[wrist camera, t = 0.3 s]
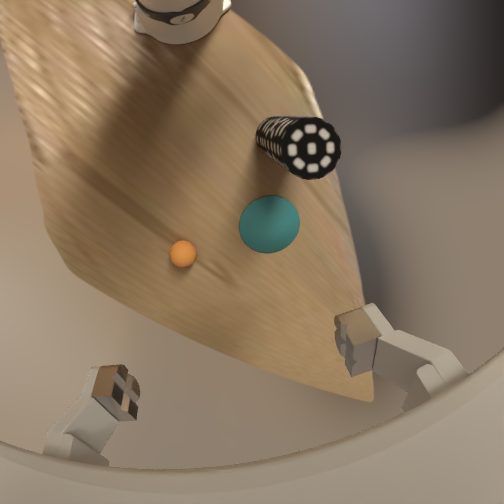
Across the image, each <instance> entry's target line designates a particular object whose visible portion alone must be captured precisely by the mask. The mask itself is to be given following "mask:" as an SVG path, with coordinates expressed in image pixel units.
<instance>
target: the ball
mask: <svg viewBox="0 0 504 504" xmlns="http://www.w3.org/2000/svg"><path fill="white" fill-rule="evenodd" d="M195 257H196V251H195V248H194V246H193V245H192V244H191V243H190V242H188V241H184V240H182V241H178V242H176V243H174V244H173V245H172V247H171V249H170V259H171V261H172V262H173V263H174V264H175V265H176V266H179V267H187V266H189V265H191V264H192V263H193V262H194V260H195Z"/></svg>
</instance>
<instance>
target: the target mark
mask: <svg viewBox="0 0 504 504" xmlns="http://www.w3.org/2000/svg"><path fill="white" fill-rule="evenodd" d="M299 225H300V220H299V215H298V212H297V210H296V208H295V207H294V206H293V205H292V204H291V203H290V202H289V201H288V200H286V199H284V198H281V197H278V196H265V197H262V198H259V199H257V200H255V201H253V202H252V203H251V204H249V205H248V206H247V207H246V209H245V210H244V212H243V214H242V216H241V219H240V224H239V229H240V234H241V237H242V239H243V241H244V242H245V243H246V244H247V245H248V246H249V247H250V248H252V249H253V250H255V251H258V252H262V253H272V252H277V251H280V250H282V249H284V248H285V247H287V246H288V245H289V244H290V243H291V242H292V241H293V240H294V239H295V237H296V235H297V233H298V230H299Z"/></svg>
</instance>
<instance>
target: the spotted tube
mask: <svg viewBox="0 0 504 504" xmlns="http://www.w3.org/2000/svg"><path fill="white" fill-rule="evenodd" d="M256 142H257V145H258V147H259V148H260V150H261V151H262V152H263V153H265V154H266V155H268V156H269V157H270V158H272V159H273V160H275V161H276V162H277V163H279V164H280V165H281V166H283V167H284V168H285V169H287V170H288V171H290V172H291V173H292V174H294V175H295V176H297V177H299V178H302V179H306V180H315V179H320V178H322V177H324V176H326V175H328V174H329V173H330V172H331V171H332V170H333V169H334V168H335V167H336V165H337V164H338V161H339V159H340V155H341V141H340V138H339V135H338V133H337V132H336V130H335V129H334V127H333V126H332V125H330V124H329V123H328V122H327V121H325V120H323V119H320V118H317V117H302V116H274V117H270V118H267V119H265V120H264V121H263V122H262V123H261V124H260V125H259V127H258V129H257V132H256Z"/></svg>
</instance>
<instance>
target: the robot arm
mask: <svg viewBox="0 0 504 504" xmlns="http://www.w3.org/2000/svg"><path fill="white" fill-rule="evenodd" d="M133 7H134V9H135V18H134V29H135V31H136V32H139V33H144V34H149V35H151V36H152V37H154V38H155V39H157V40H158V41H161V42H163V43H167V44H185V43H190V42H193V41H195V40H198V39H200V38H202V37H203V36H205V35H206V34H208V33H209V32H210V31H211V30H212V29H213V28H214V27H215V25H216V24H217V22H218V20H219V18H220V16H221V15H222V14H223V13H225V12H226V11H227V10H228V9H229V8H230V7H231V1H230V0H224V1H223V0H136V2H134V3H133ZM334 324H335V326H336V328H337V329H336V331H335V341H336V345H337V348H338V351H339V353H340V355H341V356H343V357H345V365H346V367H347V369H348V371H349V373H350V375H351V377H353V376H356V375H359V374H362V373H365V372H368V371H370V370H373V371H374V372H376V373H377V374H379V375H380V376H382V377H383V378H385V379H387V380H388V381H390V382H392V383H393V384H395V385H396V386H398V387H400V388H401V389H403V390H405V391H406V392H408V394H407V397H406V399H405V401H404V403H403V405H402V409H403V411H404V413H402V414H400V415H398V416H396V417H393V418H392V419H389V420H387V421H385V422H383V423H380V424H378V425H376V426H373V427H371V428H368V429H366V430H363V431H361V432H358V433H356V434H353V435H350V436H347V437H345V438H343V439H339V440H336V441H333V442H330V443H327V444H324V445H320V446H317V447H314V448H310V449H307V450H303V451H299V452H295V453H292V454H287V455H283V456H278V457H274V458H269V459H264V460H259V461H253V462H247V463H241V464H233V465H225V466H217V467H207V468H192V469H134V468H119V467H109V461H108V459H106V458H105V457H103V456H101V455H100V453H101V451H102V449H103V448H104V446H105V445H106V443H107V442H108V440H109V438H110V437H111V435H112V434H113V432H114V431H115V429H116V427H117V426H118V424H119V423H120V422H119V421H135V420H136V419H137V412H138V406H137V404H136V402H137V400H138V399H139V398H140V388H139V384H138V382H137V380H136V379H135V378H134V376H132V375H130V374H128V369H127V368H126V367H125V365H121V364H120V365H110V366H100V367H92V368H91V369H90V370H89V373H88V376H87V380H86V383H85V386H84V389H83V393H82V396H81V398H78V399H77V400H76V401H75V402H74V403H73V404H72V405H71V407H69V409H68V410H67V411H66V412H65V413H64V414H63V415H62V416H61V417H60V418H59V419H58V420H57V422H56V423H55V424H54V425H53V426H52V427H51V428H50V429H49V430H48V434H47V438H46V442H45V446H44V450H43V454H39V453H36V452H32V451H29V450H25V449H22V448H19V447H16V446H13V445H10V444H7V443H5V442H2V441H0V504H504V348H503V349H502V350H500V351H499V352H498V353H497V354H496V355H494V356H493V357H492V358H490V359H489V360H488V361H486V362H485V363H484V364H483V365H481V366H480V367H479V368H477V369H476V370H474V371H473V372H471V373H470V374H469V375H468V373H467V372H466V371H465V369H464V368H463V367H462V365H461V364H460V363H459V361H458V360H457V359H456V357H455V356H454V355H453V354H452V352H451V351H450V350H448V349H445V348H443V347H440V346H438V345H435V344H433V343H430V342H428V341H425V340H423V339H420V338H418V337H415V336H413V335H410V334H408V333H405V332H403V331H400V330H396V331H394V329H393V328H392V327H391V325H390V324H389V323H388V321H387V320H386V319H385V317H384V316H383V314H382V313H381V312H380V311H379V309H378V308H377V307H376V305H375V304H373V303H371V304H368V305H365V306H362V307H360V308H357V309H354V310H351V311H348V312H345V313H342V314H339V315H336V316H335V318H334Z"/></svg>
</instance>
